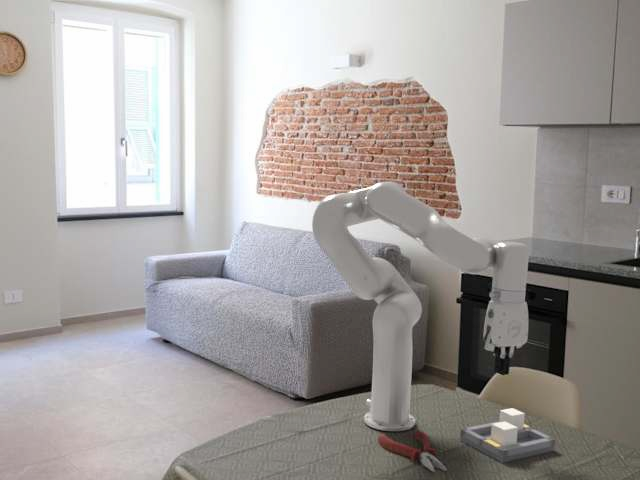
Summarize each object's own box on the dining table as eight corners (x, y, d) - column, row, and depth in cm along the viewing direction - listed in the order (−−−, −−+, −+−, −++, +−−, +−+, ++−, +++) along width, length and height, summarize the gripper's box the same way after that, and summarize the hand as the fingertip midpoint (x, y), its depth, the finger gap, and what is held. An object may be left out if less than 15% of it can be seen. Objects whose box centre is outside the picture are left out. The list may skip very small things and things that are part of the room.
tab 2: (490, 445, 168) (491, 424, 168) (503, 442, 170) (505, 421, 170) (502, 451, 165) (504, 430, 164) (516, 448, 167) (517, 427, 166)
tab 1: (498, 430, 177) (500, 410, 177) (511, 427, 179) (512, 407, 179) (510, 436, 174) (512, 415, 173) (523, 433, 176) (524, 413, 175)
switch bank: (460, 439, 174) (460, 428, 174) (510, 429, 182) (511, 418, 182) (502, 462, 162) (502, 450, 162) (554, 450, 170) (555, 438, 170)
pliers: (416, 480, 153) (417, 467, 153) (375, 443, 172) (376, 432, 172) (464, 473, 157) (465, 461, 157) (419, 438, 176) (420, 427, 176)
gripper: (494, 301, 164) (488, 381, 166) (543, 297, 171) (536, 374, 173) (472, 294, 170) (465, 371, 173) (520, 291, 178) (513, 365, 180)
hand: (501, 373), depth 173 cm, fingers closed
